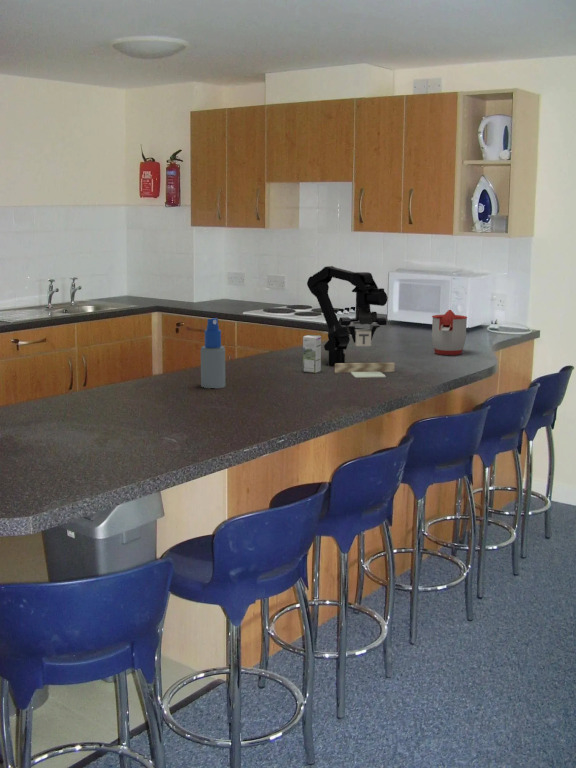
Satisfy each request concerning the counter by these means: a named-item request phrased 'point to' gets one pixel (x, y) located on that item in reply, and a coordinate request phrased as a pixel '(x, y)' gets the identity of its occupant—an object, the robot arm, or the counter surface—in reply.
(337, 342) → the robot arm
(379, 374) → the sage mat
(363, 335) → the letter cube
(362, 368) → the birch screen
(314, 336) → the syrup box
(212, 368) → the spray bottle
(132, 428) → the counter surface
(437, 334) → the citrus juicer
